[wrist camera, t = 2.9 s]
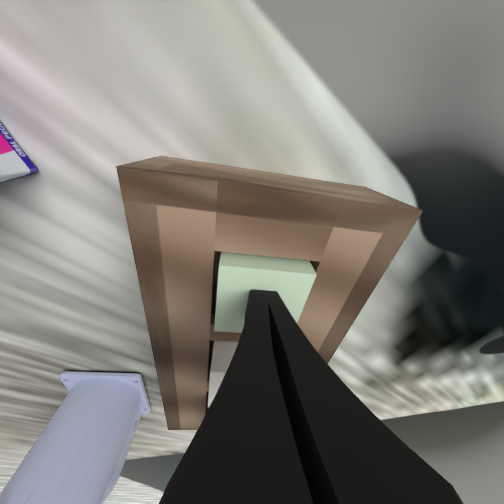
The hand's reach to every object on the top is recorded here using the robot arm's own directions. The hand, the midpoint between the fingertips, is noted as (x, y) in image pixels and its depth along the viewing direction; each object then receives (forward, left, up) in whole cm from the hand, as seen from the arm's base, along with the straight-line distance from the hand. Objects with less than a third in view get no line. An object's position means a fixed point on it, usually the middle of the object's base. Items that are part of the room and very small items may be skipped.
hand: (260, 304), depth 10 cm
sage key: (0, 0, -3) cm, 3 cm away
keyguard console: (-7, 0, -5) cm, 8 cm away
